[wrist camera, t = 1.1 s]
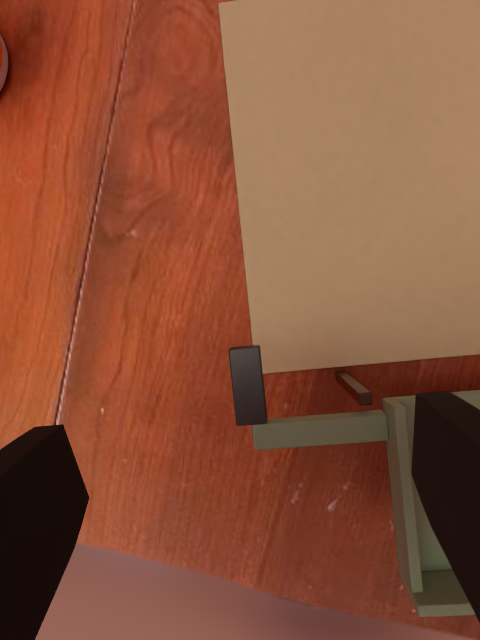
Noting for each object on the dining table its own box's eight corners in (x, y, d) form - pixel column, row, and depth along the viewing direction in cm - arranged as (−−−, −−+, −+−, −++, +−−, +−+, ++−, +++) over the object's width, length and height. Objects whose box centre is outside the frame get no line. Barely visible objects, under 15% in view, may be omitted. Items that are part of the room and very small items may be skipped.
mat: (648, 338, 21) (653, 338, 20) (256, 373, 22) (255, 374, 22) (611, -58, 20) (616, -64, 20) (218, 7, 22) (217, 2, 22)
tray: (664, 559, 15) (736, 605, 13) (254, 579, 16) (251, 624, 14) (640, 308, 15) (709, 306, 13) (230, 347, 16) (223, 353, 14)
